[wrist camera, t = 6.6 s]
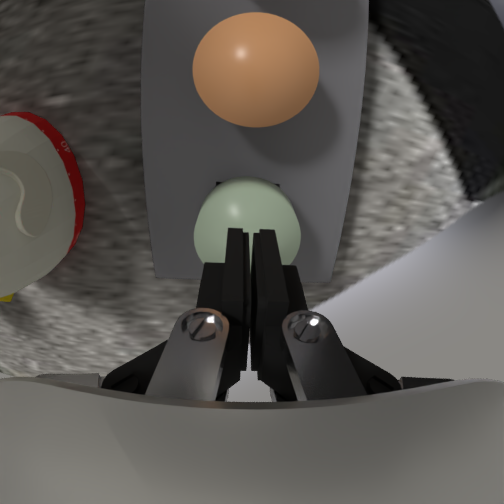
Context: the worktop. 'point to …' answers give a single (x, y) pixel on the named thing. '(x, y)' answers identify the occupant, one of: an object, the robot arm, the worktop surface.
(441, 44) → the worktop surface
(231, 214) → the button sage
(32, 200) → the white rounded crested piece
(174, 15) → the console
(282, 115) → the button terracotta
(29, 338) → the worktop surface
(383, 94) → the worktop surface
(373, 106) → the worktop surface
